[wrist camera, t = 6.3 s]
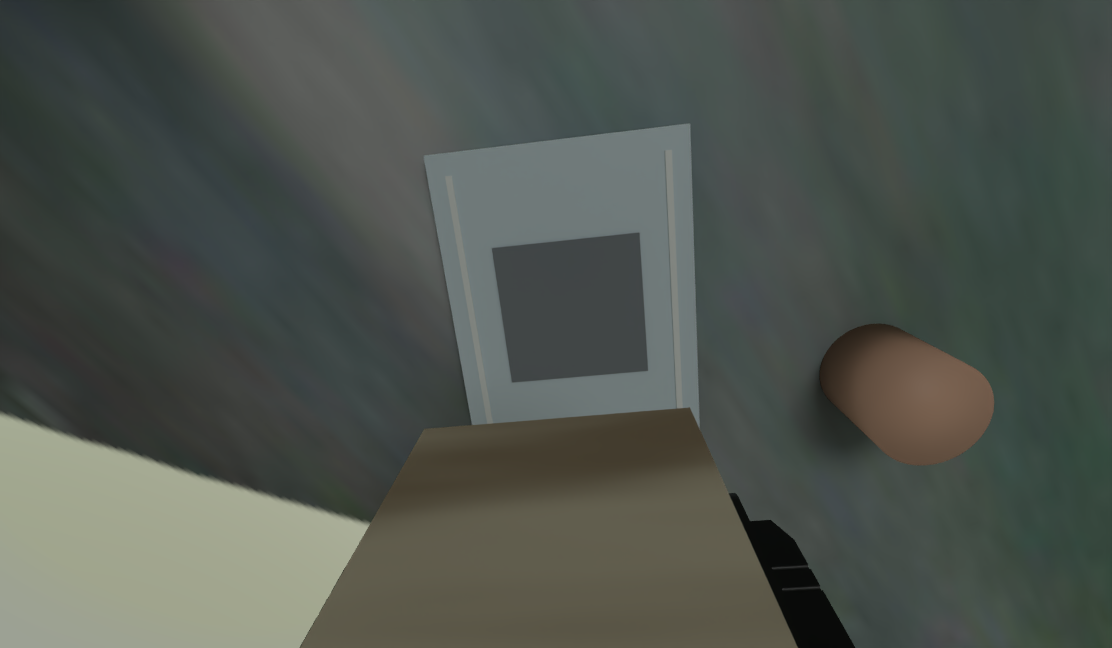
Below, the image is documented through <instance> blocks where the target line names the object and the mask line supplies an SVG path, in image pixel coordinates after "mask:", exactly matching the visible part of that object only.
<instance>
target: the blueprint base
mask: <svg viewBox="0 0 1112 648" xmlns="http://www.w3.org/2000/svg"><path fill="white" fill-rule="evenodd" d="M424 162H425V167H426V173H427V179H428V184H429V190H430V195H431V201H432V206H433V212H434V217H435V223H436V228H437V234H438V239H439V245H440V250H441V256H442V261H443V267H444V272H445V278H446V284H447V289H448V295H449V300H450V306H451V311H452V317H453V322H454V328H455V333H456V339H457V344H458V350H459V355H460V361H461V366H462V372H463V378H464V383H465V389H466V394H467V400H468V405H469V411H470V416H471V422H472V425H480V424H492V423H504V422H517V421H529V420H541V419H554V418H566V417H578V416H591V415H603V414H615V413H628V412H640V411H652V410H665V409H677V408H689V407H690V409H691V411H692V413H693V415H694V418H695V420H696V422H697V424H698V427H699V429H700V424H699V392H698V360H697V328H696V296H695V264H694V232H693V200H692V168H691V136H690V124H681V125H673V126H665V127H657V128H648V129H640V130H632V131H624V132H615V133H607V134H599V135H591V136H582V137H574V138H566V139H558V140H549V141H541V142H533V143H524V144H516V145H508V146H500V147H491V148H483V149H475V150H467V151H458V152H450V153H442V154H434V155H425V156H424Z"/></svg>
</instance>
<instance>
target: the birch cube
mask: <svg viewBox="0 0 1112 648" xmlns="http://www.w3.org/2000/svg"><path fill="white" fill-rule="evenodd" d="M300 648H798V647H797V645H796V643H795V640H794V638H793V636H792V634H791V631H790V629H789V627H788V625H787V623H786V620H785V618H784V616H783V614H782V611H781V609H780V607H779V605H778V603H777V600H776V598H775V596H774V594H773V591H772V589H771V587H770V585H769V582H768V580H767V578H766V576H765V574H764V571H763V569H762V567H761V565H760V562H759V560H758V558H757V556H756V554H755V551H754V549H753V547H752V545H751V542H750V540H749V538H748V536H747V533H746V531H745V529H744V527H743V525H742V522H741V520H740V518H739V516H738V513H737V511H736V509H735V507H734V505H733V502H732V500H731V498H730V496H729V493H728V491H727V489H726V487H725V485H724V482H723V480H722V478H721V476H720V473H719V471H718V469H717V467H716V464H715V462H714V460H713V458H712V456H711V453H710V451H709V449H708V447H707V444H706V442H705V440H704V438H703V436H702V433H701V431H700V429H699V427H698V424H697V422H696V420H695V418H694V415H693V413H692V411H691V409H690V407H689V408H677V409H665V410H652V411H640V412H628V413H615V414H603V415H591V416H578V417H566V418H554V419H541V420H529V421H517V422H504V423H492V424H480V425H467V426H455V427H443V428H430V429H424V431H423V432H422V434H421V436H420V438H419V439H418V441H417V443H416V445H415V446H414V448H413V450H412V452H411V453H410V455H409V457H408V459H407V460H406V462H405V464H404V466H403V467H402V469H401V471H400V473H399V474H398V476H397V478H396V480H395V481H394V483H393V485H392V487H391V488H390V490H389V492H388V494H387V496H386V497H385V499H384V501H383V503H382V504H381V506H380V508H379V510H378V511H377V513H376V515H375V517H374V518H373V520H372V522H371V524H370V525H369V527H368V529H367V531H366V533H365V534H364V536H363V538H362V540H361V541H360V543H359V545H358V546H357V548H356V550H355V552H354V553H353V555H352V557H351V559H350V560H349V562H348V564H347V566H346V567H345V569H344V571H343V573H342V575H341V576H340V578H339V580H338V582H337V583H336V585H335V587H334V589H333V590H332V592H331V594H330V596H329V597H328V599H327V601H326V603H325V604H324V606H323V608H322V610H321V611H320V613H319V615H318V617H317V618H316V620H315V622H314V624H313V625H312V627H311V629H310V631H309V632H308V634H307V636H306V638H305V639H304V641H303V643H302V645H301V646H300Z"/></svg>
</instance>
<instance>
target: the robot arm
mask: <svg viewBox="0 0 1112 648" xmlns="http://www.w3.org/2000/svg"><path fill="white" fill-rule="evenodd" d="M729 496H730V498H731V500H732V502H733V505H734V507H735V509H736V511H737V513H738V516H739V518H740V520H741V522H742V525H743V527H744V529H745V531H746V533H747V536H748V538H749V540H750V542H751V545H752V547H753V549H754V551H755V554H756V556H757V558H758V560H759V562H760V565H761V567H762V569H763V571H764V574H765V576H766V578H767V580H768V582H769V585H770V587H771V589H772V591H773V594H774V596H775V598H776V600H777V603H778V605H779V607H780V609H781V611H782V614H783V616H784V618H785V620H786V623H787V625H788V627H789V629H790V631H791V634H792V636H793V638H794V640H795V643H796V645H797V647H798V648H855V646H854V645H853V643H852V641H851V639H850V638H849V636H848V634H847V632H846V630H845V629H844V627H843V625H842V623H841V622H840V620H839V618H838V616H837V615H836V613H835V611H834V609H833V608H832V606H831V604H830V602H829V600H828V599H827V597H826V595H825V593H824V592H823V590H822V591H821V589H820V585H819V583H818V581H817V579H816V578H815V576H814V574H813V572H812V570H811V569H809V568H808V563H807V562H806V560H805V558H804V556H803V555H802V553H801V551H800V549H799V548H798V546H797V544H796V542H795V540H794V539H793V538H791V537H790V536H789V535H788V534H787V533H786V532H784V531H783V530H782V529H781V528H780V527H778V526H777V525H776V524H775V523H774V522H772V521H771V520H763V521H750V520H749V518H748V516H747V514H746V512H745V510H744V508H743V506H742V504H741V501H740V499H739V497H738V496H737V494H736V493H729ZM343 571H344V570H343ZM342 573H343V572H342ZM341 575H342V574H341ZM338 580H339V579H338ZM337 582H338V581H337ZM334 587H335V586H334ZM333 589H334V588H333ZM326 601H327V600H326ZM325 603H326V602H325ZM322 608H323V607H322ZM321 610H322V609H321ZM314 622H315V621H314ZM313 624H314V623H313ZM310 629H311V628H310ZM309 631H310V630H309ZM306 636H307V635H306ZM305 638H306V637H305ZM301 645H302V644H301Z"/></svg>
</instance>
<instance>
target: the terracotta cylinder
mask: <svg viewBox="0 0 1112 648" xmlns="http://www.w3.org/2000/svg"><path fill="white" fill-rule="evenodd" d="M820 383H821V387H822V390H823V392H824V393H825V395H826V396H827V398H828V399H829V400H830V401H831V402H832V403H833V404H834V405H835V406H836V407H837V408H838V409H839V410H840V411H841V412H843V413H844V414H845V415H846V416H847V417H848V418H849V419H850V420H851V421H852V422H853V423H854V424H855V425H856V426H857V427H858V428H859V429H860V430H861V431H862V432H863V433H865V434H866V435H867V436H868V437H869V438H870V439H871V440H872V441H873V442H874V443H875V444H876V445H877V446H878V447H879V448H880V449H881V450H882V451H883V452H884V453H885V454H887V455H888V456H890V457H891V458H893V459H895V460H897V461H899V462H902V463H906V464H910V465H931V464H937V463H941V462H944V461H947V460H950V459H952V458H954V457H956V456H958V455H960V454H962V453H963V452H965V451H966V450H967V449H969V448H970V447H971V446H972V445H974V444H975V443H976V442H977V441H978V439H979V438H980V437H981V436H982V435H983V433H984V432H985V430H986V429H987V427H988V425H989V423H990V420H991V418H992V414H993V410H994V396H993V392H992V389H991V386H990V384H989V382H988V381H987V379H986V378H985V377H984V376H983V375H982V374H981V373H980V372H979V371H978V370H976V369H975V368H973V367H971V366H969V365H967V364H966V363H964V362H962V361H960V360H958V359H956V358H954V357H952V356H950V355H948V354H947V353H945V352H943V351H941V350H939V349H937V348H935V347H933V346H931V345H929V344H928V343H926V342H924V341H922V340H920V339H918V338H916V337H914V336H912V335H910V334H909V333H907V332H905V331H903V330H901V329H899V328H897V327H894V326H891V325H887V324H869V325H864V326H860V327H857V328H855V329H852V330H850V331H849V332H847V333H845V334H844V335H842V336H841V337H840V338H838V339H837V340H836V341H835V342H834V343H833V344H832V345H831V347H830V348H829V349H828V351H827V352H826V354H825V356H824V358H823V360H822V363H821V367H820Z"/></svg>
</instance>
